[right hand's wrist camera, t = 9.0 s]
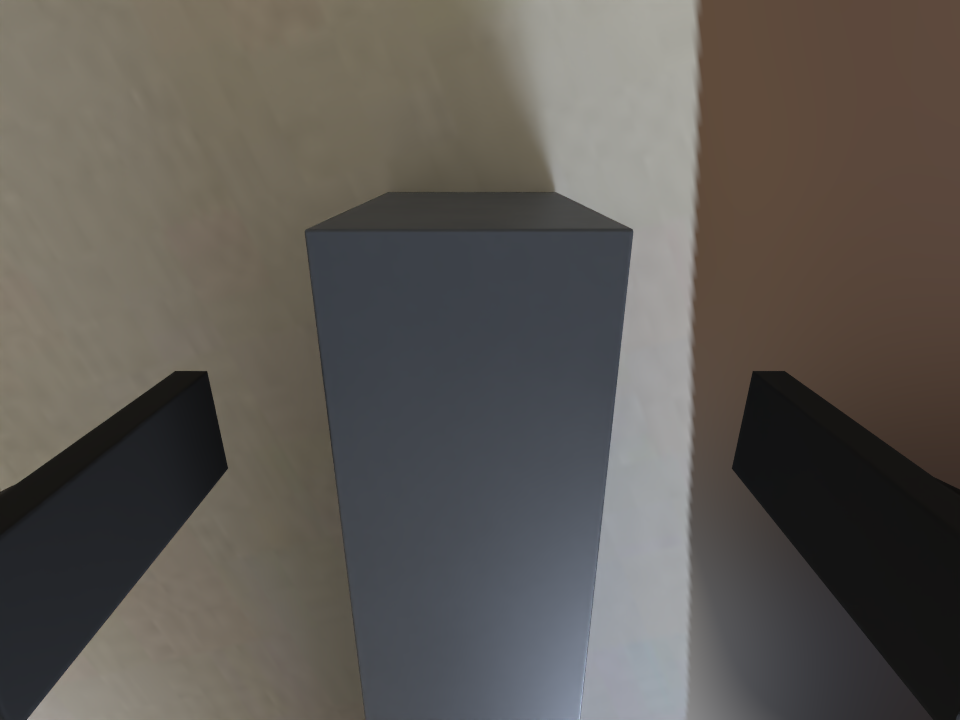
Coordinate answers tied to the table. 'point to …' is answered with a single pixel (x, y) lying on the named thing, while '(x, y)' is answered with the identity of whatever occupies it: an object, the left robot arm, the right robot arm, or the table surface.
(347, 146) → the table surface
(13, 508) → the right robot arm
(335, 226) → the post
